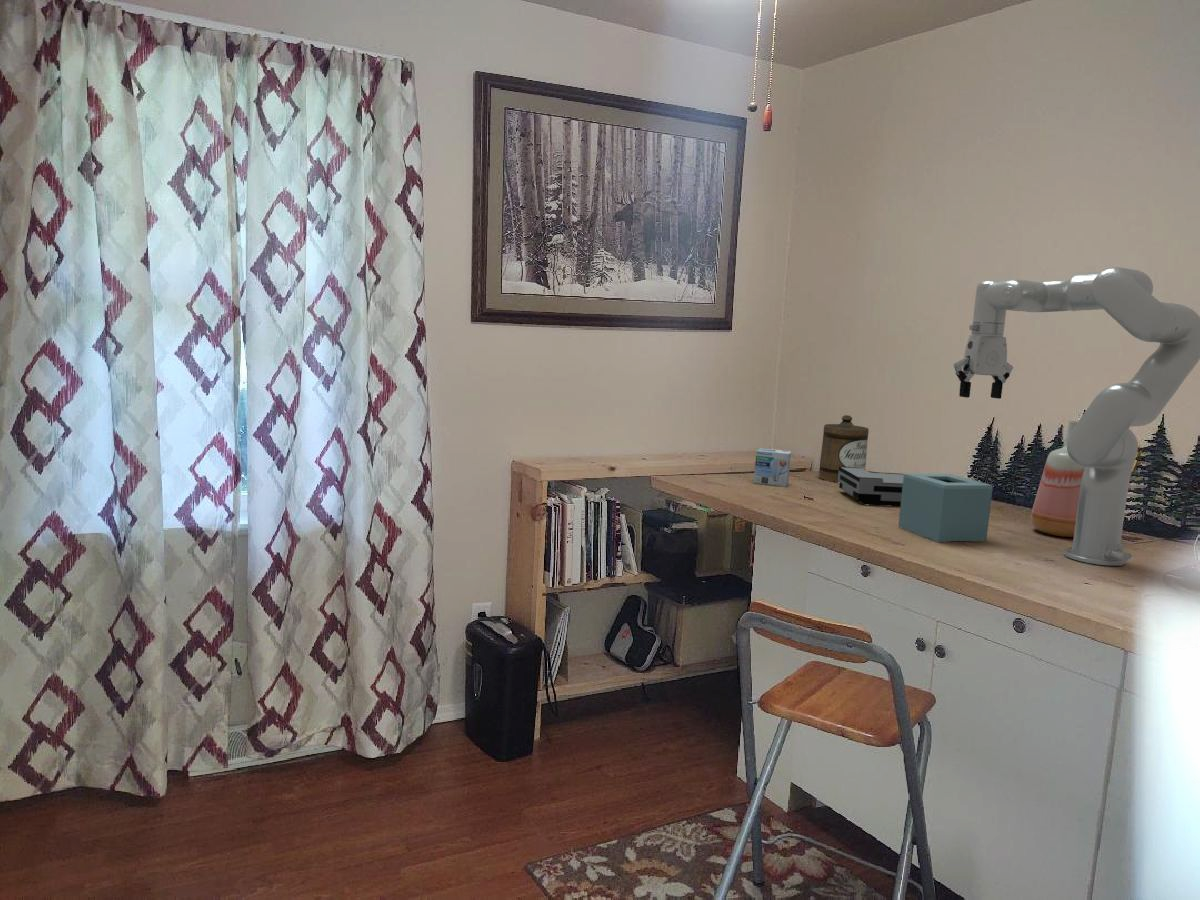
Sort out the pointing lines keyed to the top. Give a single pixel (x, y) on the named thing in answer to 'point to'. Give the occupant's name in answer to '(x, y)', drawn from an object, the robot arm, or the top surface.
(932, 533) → the drop box
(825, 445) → the wooden container
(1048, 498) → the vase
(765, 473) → the light bulb box
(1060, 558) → the top surface
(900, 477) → the game console
